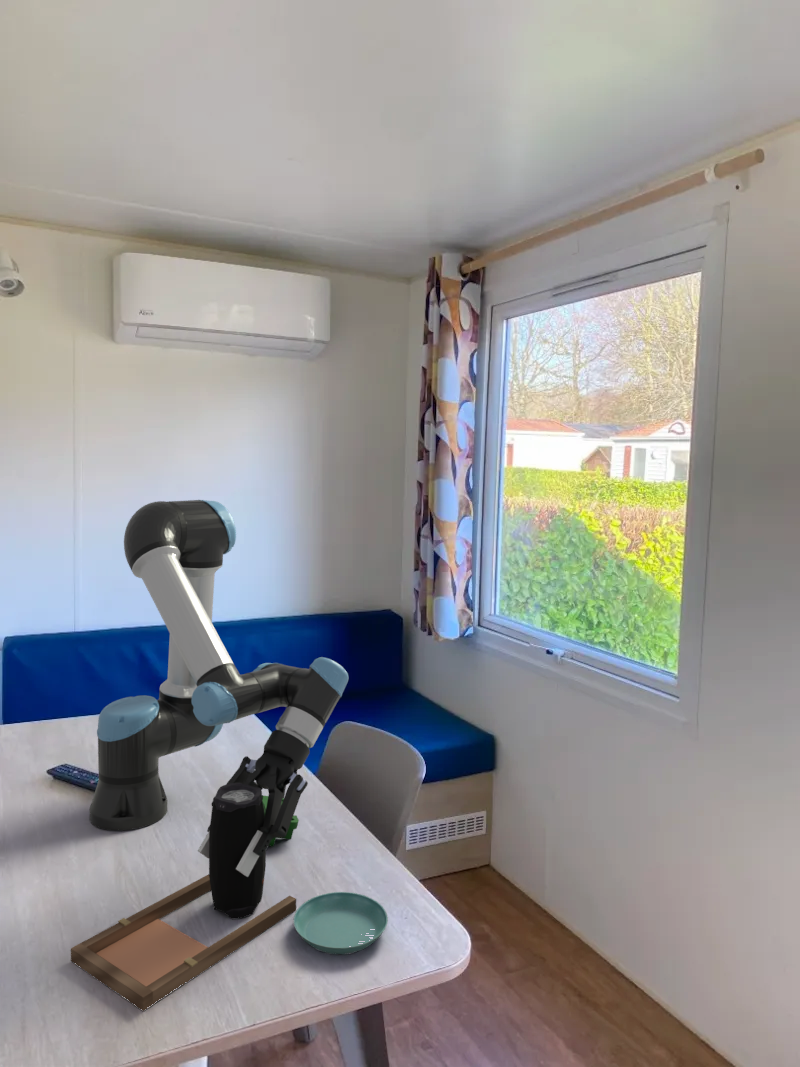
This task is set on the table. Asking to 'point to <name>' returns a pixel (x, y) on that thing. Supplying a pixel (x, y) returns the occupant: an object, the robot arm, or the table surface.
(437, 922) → the table surface
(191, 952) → the flat panel
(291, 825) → the clamp
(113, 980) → the rail track
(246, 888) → the portable speaker
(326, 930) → the saucer
